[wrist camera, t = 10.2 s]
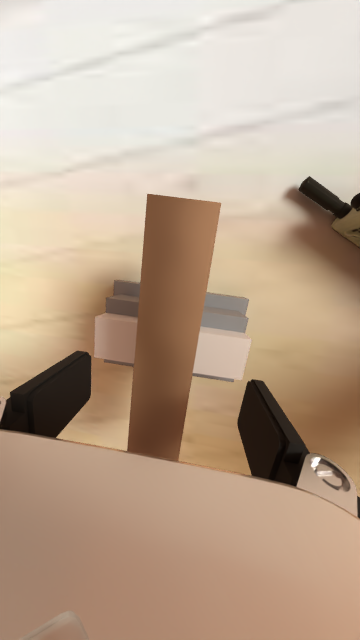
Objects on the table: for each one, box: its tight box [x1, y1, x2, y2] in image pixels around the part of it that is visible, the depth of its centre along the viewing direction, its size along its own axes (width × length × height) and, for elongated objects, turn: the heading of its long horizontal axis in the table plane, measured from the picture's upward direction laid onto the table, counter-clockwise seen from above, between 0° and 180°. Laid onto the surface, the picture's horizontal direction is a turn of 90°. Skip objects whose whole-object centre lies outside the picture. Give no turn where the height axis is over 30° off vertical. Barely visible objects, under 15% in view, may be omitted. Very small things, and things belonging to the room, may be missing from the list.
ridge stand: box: [94, 280, 252, 382], centre depth 20 cm, size 16×10×8 cm, turn 82°
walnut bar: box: [127, 194, 221, 461], centre depth 13 cm, size 4×20×6 cm, turn 172°
